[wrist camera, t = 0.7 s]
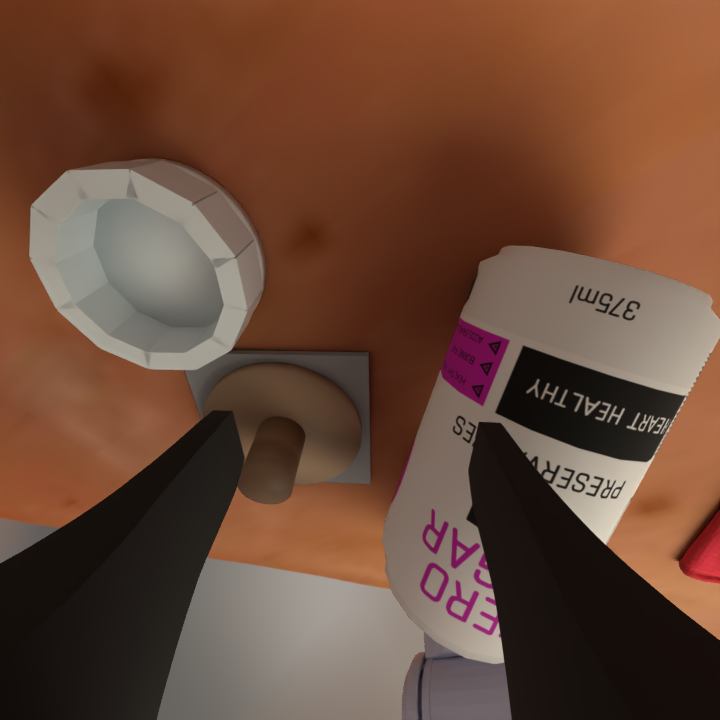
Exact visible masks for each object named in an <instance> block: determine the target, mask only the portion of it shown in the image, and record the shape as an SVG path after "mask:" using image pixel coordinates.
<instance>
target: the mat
mask: <svg viewBox="0 0 720 720" xmlns="http://www.w3.org/2000/svg"><path fill="white" fill-rule="evenodd" d="M260 362H282V363H289V364H294V365H298V366H302V367H305V368H308V369H311V370H313V371H315V372H318V373H320V374H321V375H323V376H325V377H327V378H328V379H330V380H331V381H333V382H334V383H336V384H337V385H338V386H339V387H340V388H341V389H343V390H344V391H345V393H346V394H347V395H348V396H349V397H350V398H351V400H352V401H353V403H354V404H355V406H356V408H357V410H358V412H359V416H360V419H361V425H362V434H361V445H360V449H359V452H358V454H357V456H356V458H355V460H354V461H353V463H352V464H351V465H350V466H349V467H348V468H347V469H346V470H345V471H343V472H342V473H341V474H339V475H337V476H336V477H334V478H332V479H329V480H327V481H324V482H331V483H355V484H371V454H370V394H369V352H321V351H258V350H231V351H229V352H228V353H226V354H224V355H222V356H220V357H219V358H217V359H215V360H213V361H211V362H210V363H208V364H206V365H204V366H202V367H201V368H199V369H197V370H196V369H195V370H184V371H185V374H186V376H187V379H188V382H189V385H190V388H191V391H192V394H193V397H194V399H195V402H196V405H197V408H198V411H199V414H200V417H201V419H203V409H204V406H205V402H206V400H207V398H208V397H209V395H210V393H211V392H212V390H213V388H214V387H215V386H216V384H217V383H218V382H219V381H220V380H221V379H222V378H223V377H224V376H225V375H227V374H228V373H230V372H231V371H233V370H235V369H238V368H240V367H242V366H246V365H249V364H254V363H260Z"/></svg>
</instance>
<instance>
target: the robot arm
mask: <svg viewBox="0 0 720 720" xmlns="http://www.w3.org/2000/svg"><path fill="white" fill-rule="evenodd" d="M244 460H245V457H244V453H243V449H242V445H241V441H240V437H239V433H238V429H237V425H236V421H235V417H234V413H233V411H222V410H213V411H211V412H210V413H209V414H208V415H207V416H206V417H204V418H203V419H202V420H201V421H200V422H199V423H197V424H196V425H195V426H194V427H193V428H192V429H191V430H190V431H188V432H187V433H186V434H185V435H184V436H183V437H182V438H180V439H179V440H178V441H177V442H176V443H175V444H173V445H172V446H171V447H170V448H169V449H168V450H166V451H165V452H164V453H163V454H162V455H161V456H159V457H158V458H157V459H156V460H155V461H153V462H152V463H151V464H150V465H148V466H147V467H146V468H145V469H143V470H142V471H141V472H139V473H138V474H137V475H136V476H134V477H133V478H132V479H131V480H129V481H128V482H127V483H126V484H124V485H123V486H122V487H120V488H119V489H118V490H116V491H115V492H114V493H112V494H111V495H109V496H108V497H107V498H105V499H104V500H102V501H101V502H100V503H98V504H97V505H95V506H94V507H92V508H91V509H89V510H88V511H86V512H85V513H83V514H82V515H81V516H79V517H77V518H76V519H74V520H73V521H71V522H70V523H68V524H66V525H65V526H63V527H61V528H60V529H58V530H57V531H55V532H53V533H52V534H50V535H49V536H47V537H45V538H44V539H42V540H40V541H39V542H37V543H35V544H34V545H32V546H30V547H29V548H27V549H25V550H24V551H22V552H20V553H18V554H16V555H15V556H13V557H11V558H9V559H7V560H6V561H4V562H2V563H0V720H156V719H157V715H158V712H159V707H160V704H161V700H162V696H163V693H164V689H165V685H166V682H167V678H168V675H169V671H170V668H171V664H172V661H173V657H174V654H175V650H176V647H177V644H178V640H179V637H180V634H181V631H182V627H183V624H184V621H185V618H186V614H187V611H188V608H189V605H190V602H191V599H192V596H193V593H194V590H195V587H196V584H197V581H198V578H199V576H200V573H201V570H202V568H203V565H204V563H205V560H206V558H207V556H208V554H209V551H210V549H211V547H212V544H213V542H214V540H215V538H216V535H217V533H218V531H219V528H220V526H221V524H222V521H223V519H224V517H225V515H226V512H227V510H228V508H229V505H230V503H231V501H232V498H233V496H234V493H235V491H236V488H237V485H238V481H239V478H240V475H241V471H242V468H243V464H244ZM468 474H469V483H470V491H471V499H472V505H473V509H474V514H475V518H476V522H477V526H478V530H479V534H480V538H481V542H482V546H483V550H484V555H485V559H486V563H487V567H488V571H489V575H490V579H491V583H492V588H493V593H494V597H495V603H496V609H497V616H498V622H499V629H500V635H501V642H502V649H503V656H504V662H503V663H498V664H491V663H486V662H482V661H477V660H472V659H467V658H464V657H463V656H461V655H459V654H457V653H455V652H453V651H452V650H450V649H448V648H446V647H444V646H442V645H441V644H439V643H437V642H435V641H434V640H433V639H432V638H431V637H430V636H428V635H427V634H426V633H425V632H424V643H425V652H421V653H418V654H417V655H416V656H415V657H414V659H413V661H412V663H411V666H410V669H409V671H408V673H407V675H406V678H405V682H404V687H403V695H402V720H720V640H718V639H717V638H716V637H715V636H713V635H712V634H711V633H709V632H708V631H707V630H706V629H704V628H703V627H702V626H700V625H699V624H698V623H696V622H695V621H694V620H693V619H691V618H690V617H689V616H687V615H686V614H685V613H684V612H682V611H681V610H680V609H679V608H677V607H676V606H675V605H674V604H673V603H671V602H670V601H669V600H668V599H666V598H665V597H664V596H663V595H662V594H661V593H659V592H658V591H657V590H656V589H655V588H654V587H652V586H651V585H650V584H649V583H648V582H647V581H645V580H644V579H643V578H642V577H641V576H639V575H638V574H637V573H636V572H635V571H634V570H632V569H631V568H630V567H629V566H628V565H627V564H626V563H625V562H624V561H622V560H621V559H620V558H619V557H618V556H617V555H616V554H615V553H614V552H613V551H612V550H611V549H610V548H609V547H608V546H606V545H605V544H604V543H603V542H602V541H601V540H600V539H599V538H598V537H597V536H596V535H595V534H594V533H593V532H592V531H591V530H590V529H589V528H588V527H587V526H586V525H585V524H584V523H583V522H582V521H581V519H580V518H579V517H578V516H577V515H576V514H575V513H574V512H573V511H572V510H571V509H570V508H569V506H568V505H567V504H566V503H565V502H564V501H563V500H562V499H561V498H560V496H559V495H558V494H557V493H556V492H555V491H554V490H553V488H552V487H551V486H550V485H549V484H548V482H547V481H546V480H545V479H544V478H543V476H542V475H541V474H540V473H539V472H538V470H537V469H536V468H535V467H534V465H533V464H532V463H531V462H530V460H529V459H528V458H527V456H526V455H525V454H524V453H523V451H522V450H521V449H520V447H519V446H518V445H517V443H516V442H515V441H514V439H513V438H512V437H511V435H510V434H509V433H508V431H507V430H506V429H505V427H504V426H503V425H502V424H501V423H496V422H479V423H478V427H477V432H476V436H475V441H474V445H473V450H472V454H471V459H470V463H469V468H468Z"/></svg>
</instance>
